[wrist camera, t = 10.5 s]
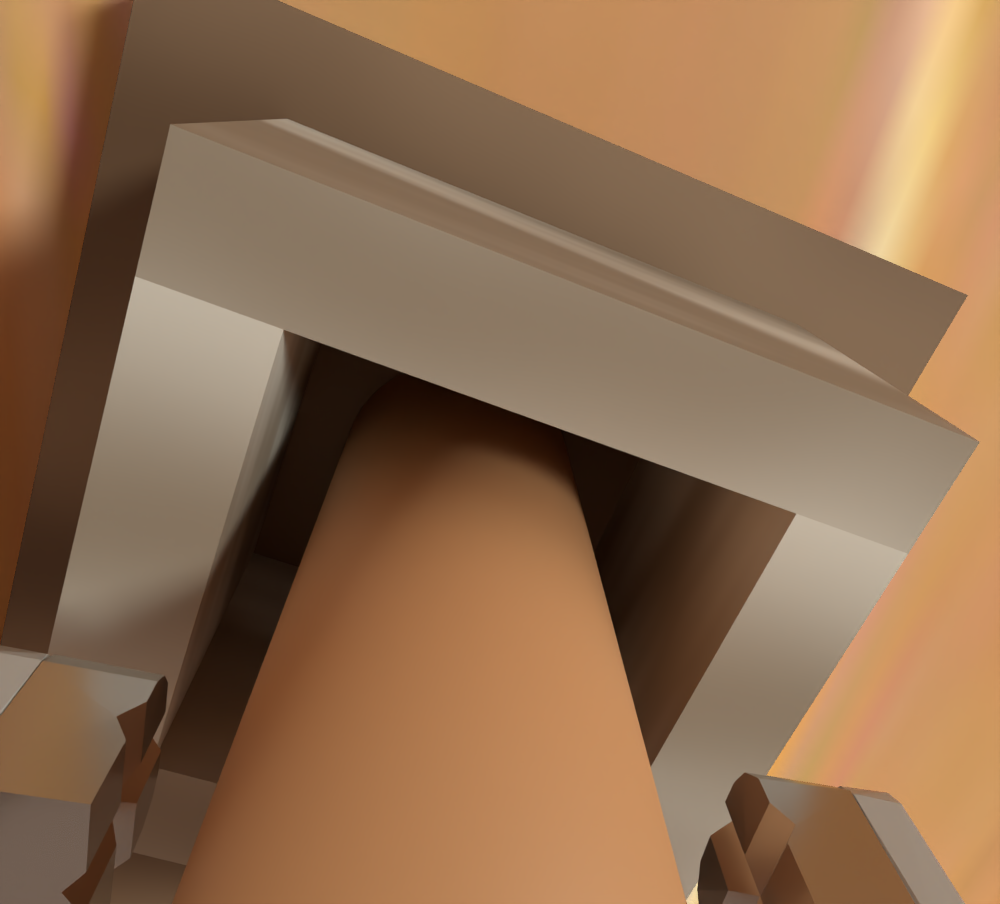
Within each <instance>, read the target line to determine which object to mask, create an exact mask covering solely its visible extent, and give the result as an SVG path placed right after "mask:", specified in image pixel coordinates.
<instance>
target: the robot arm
mask: <svg viewBox="0 0 1000 904" xmlns="http://www.w3.org/2000/svg"><path fill="white" fill-rule="evenodd" d="M167 689H168V682H167V679H166V677H165V675H160V674H155V673H149V672H144V671H139V670H134V669H128V668H123V667H118V666H113V665H107V664H102V663H97V662H91V661H86V660H81V659H76V658H70V657H65V656H60V655H52V656H51V655H48V654H45V653H39V652H34V651H29V650H23V649H18V648H12V647H7V646H1V645H0V904H110V901H111V892H112V883H113V874H114V869H115V868H116V867H118V866H119V865H121V864H122V863H124V862H125V861H127V860H128V859H130V857H131V855H132V853H133V850H134V848H135V846H136V843H137V841H138V839H139V836H140V834H141V832H142V829H143V826H144V823H145V820H146V817H147V814H148V811H149V808H150V804H151V801H152V798H153V794H154V790H155V785H156V780H157V776H158V771H159V763H160V755H161V749H160V748H159V746H158V745H157V744H156V742H155V741H154V739H153V737H154V735H155V733H156V731H157V729H158V727H159V725H160V722H161V720H162V718H163V716H164V714H165V712H166V701H167ZM725 803H726V806H727V809H728V811H729V814H730V817H731V820H732V821H731V822H730V823H728V824H727V825H725V826H724V827H722V828H721V829H719V830H718V831H716V832H715V833H713V834H712V835H710V837H709V840H708V843H707V845H706V848H705V850H704V853H703V856H702V858H701V861H700V869H699V879H698V889H697V891H698V900H699V904H965V903H964V902H963V900H962V898H961V897H960V895H959V894H958V892H957V891H956V889H955V888H954V886H953V884H952V883H951V881H950V880H949V878H948V877H947V875H946V873H945V872H944V870H943V869H942V867H941V866H940V864H939V862H938V861H937V859H936V858H935V856H934V855H933V853H932V851H931V850H930V848H929V847H928V845H927V844H926V842H925V840H924V839H923V837H922V836H921V834H920V833H919V831H918V829H917V828H916V826H915V825H914V823H913V822H912V820H911V818H910V817H909V815H908V814H907V812H906V811H905V809H904V807H903V806H902V804H901V803H900V802H898V801H897V800H896V799H895V798H893V797H892V796H891V795H889V794H888V793H885V792H878V791H871V790H864V789H857V788H850V787H842V786H840V787H833V786H828V785H821V784H815V783H809V782H803V781H796V780H790V779H784V778H778V777H771V776H765V775H759V774H753V773H746V772H744V773H743V774H742V775H741V776H740V777H739V778H738V779H737V780H736V781H735V782H734V783H733V786H732V788H731V790H730V792H729V794H728V797H727V799H726V801H725Z"/></svg>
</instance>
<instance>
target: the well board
mask: <svg viewBox="0 0 1000 904" xmlns="http://www.w3.org/2000/svg"><path fill="white" fill-rule="evenodd" d="M967 296H968V295H966V294H963V293H961V292H959V291H956V290H954V289H952V288H949V287H947V286H945V285H942V284H940V283H938V282H935V281H933V280H931V279H928V278H926V277H924V276H921V275H919V274H917V273H914V272H912V271H910V270H907V269H905V268H903V267H900V266H898V265H896V264H893V263H891V262H889V261H886V260H884V259H882V258H879V257H877V256H875V255H872V254H870V253H868V252H865V251H863V250H861V249H858V248H856V247H853V246H851V245H849V244H846V243H844V242H842V241H839V240H837V239H835V238H832V237H830V236H828V235H825V234H823V233H821V232H818V231H816V230H814V229H811V228H809V227H807V226H804V225H802V224H800V223H797V222H795V221H793V220H790V219H788V218H786V217H783V216H781V215H779V214H776V213H774V212H772V211H769V210H767V209H765V208H762V207H760V206H758V205H755V204H753V203H751V202H748V201H746V200H744V199H741V198H739V197H736V196H734V195H732V194H729V193H727V192H725V191H722V190H720V189H718V188H715V187H713V186H711V185H708V184H706V183H704V182H701V181H699V180H697V179H694V178H692V177H690V176H687V175H685V174H683V173H680V172H678V171H676V170H673V169H671V168H669V167H666V166H664V165H662V164H659V163H657V162H655V161H652V160H650V159H648V158H645V157H643V156H641V155H638V154H636V153H634V152H631V151H629V150H627V149H624V148H622V147H619V146H617V145H615V144H612V143H610V142H608V141H605V140H603V139H601V138H598V137H596V136H594V135H591V134H589V133H587V132H584V131H582V130H580V129H577V128H575V127H573V126H570V125H568V124H566V123H563V122H561V121H559V120H556V119H554V118H552V117H549V116H547V115H545V114H542V113H540V112H538V111H535V110H533V109H531V108H528V107H526V106H524V105H521V104H519V103H517V102H514V101H512V100H510V99H507V98H505V97H502V96H500V95H498V94H495V93H493V92H491V91H488V90H486V89H484V88H481V87H479V86H477V85H474V84H472V83H470V82H467V81H465V80H463V79H460V78H458V77H456V76H453V75H451V74H449V73H446V72H444V71H442V70H439V69H437V68H435V67H432V66H430V65H428V64H425V63H423V62H421V61H418V60H416V59H414V58H411V57H409V56H407V55H404V54H402V53H400V52H397V51H395V50H393V49H390V48H388V47H385V46H383V45H381V44H378V43H376V42H374V41H371V40H369V39H367V38H364V37H362V36H360V35H357V34H355V33H353V32H350V31H348V30H346V29H343V28H341V27H339V26H336V25H334V24H332V23H329V22H327V21H325V20H322V19H320V18H318V17H315V16H313V15H311V14H308V13H306V12H304V11H301V10H299V9H297V8H294V7H292V6H290V5H287V4H285V3H283V2H280V1H278V0H134V1H133V6H132V11H131V16H130V20H129V25H128V30H127V35H126V40H125V45H124V49H123V54H122V59H121V64H120V69H119V74H118V78H117V83H116V88H115V93H114V98H113V103H112V107H111V112H110V117H109V122H108V127H107V132H106V136H105V141H104V146H103V151H102V156H101V161H100V165H99V170H98V175H97V180H96V185H95V190H94V194H93V199H92V204H91V209H90V214H89V219H88V223H87V228H86V233H85V238H84V243H83V248H82V252H81V257H80V262H79V267H78V272H77V277H76V281H75V286H74V291H73V296H72V301H71V306H70V310H69V315H68V320H67V325H66V330H65V335H64V339H63V344H62V349H61V354H60V359H59V364H58V368H57V373H56V378H55V383H54V388H53V393H52V397H51V402H50V407H49V412H48V417H47V422H46V426H45V431H44V436H43V441H42V446H41V451H40V455H39V460H38V465H37V470H36V475H35V480H34V484H33V489H32V494H31V499H30V504H29V509H28V513H27V518H26V523H25V528H24V533H23V538H22V542H21V547H20V552H19V557H18V562H17V567H16V571H15V576H14V581H13V586H12V591H11V596H10V600H9V605H8V610H7V615H6V620H5V625H4V629H3V634H2V639H1V644H0V645H1V646H7V647H12V648H18V649H23V650H29V651H34V652H39V653H45V654H48V655H51V656H52V655H60V656H65V657H70V658H76V659H81V660H86V661H91V662H97V663H102V664H107V665H113V666H118V667H123V668H128V669H134V670H139V671H144V672H149V673H155V674H160V675H165V677H166V679H167V682H168V689H167V701H166V712H165V714H164V716H163V718H162V720H161V722H160V725H159V727H158V729H157V731H156V733H155V735H154V737H153V739H154V741H155V742H156V744H157V745H158V746H159V748H160V749H161V755H160V763H159V771H158V776H157V780H156V785H155V790H154V794H153V798H152V801H151V804H150V808H149V811H148V814H147V817H146V820H145V823H144V826H143V829H142V832H141V834H140V836H139V839H138V841H137V843H136V846H135V848H134V850H133V853H132V855H131V857H130V859H128V860H127V861H125V862H124V863H122V864H121V865H119V866H118V867H116V868H115V869H114V874H113V883H112V892H111V901H110V904H172V902H173V899H174V897H175V894H176V891H177V889H178V886H179V883H180V881H181V878H182V875H183V873H184V870H185V868H186V865H187V862H188V860H189V857H190V854H191V852H192V849H193V846H194V844H195V841H196V838H197V836H198V833H199V830H200V828H201V825H202V822H203V820H204V817H205V815H206V812H207V809H208V807H209V804H210V801H211V799H212V796H213V793H214V791H215V788H216V785H217V783H218V780H219V777H220V775H221V772H222V769H223V767H224V764H225V761H226V759H227V756H228V754H229V751H230V748H231V746H232V743H233V740H234V738H235V735H236V732H237V730H238V727H239V724H240V722H241V719H242V716H243V714H244V711H245V708H246V706H247V703H248V700H249V698H250V695H251V693H252V690H253V687H254V685H255V682H256V679H257V677H258V674H259V671H260V669H261V666H262V663H263V661H264V658H265V655H266V653H267V650H268V647H269V645H270V642H271V640H272V637H273V634H274V632H275V629H276V626H277V624H278V621H279V618H280V616H281V613H282V610H283V608H284V605H285V602H286V600H287V597H288V594H289V592H290V589H291V586H292V584H293V581H294V579H295V576H296V573H297V571H298V568H299V565H300V563H301V560H302V557H303V555H304V552H305V549H306V547H307V544H308V541H309V539H310V536H311V533H312V531H313V528H314V525H315V523H316V520H317V518H318V515H319V512H320V510H321V507H322V504H323V502H324V499H325V496H326V494H327V491H328V488H329V486H330V483H331V480H332V478H333V475H334V472H335V470H336V467H337V465H338V462H339V459H340V457H341V454H342V451H343V449H344V446H345V443H346V441H347V438H348V435H349V433H350V430H351V428H352V426H353V423H354V421H355V419H356V417H357V415H358V414H359V412H360V410H361V409H362V407H363V406H364V405H365V403H366V402H367V401H368V400H369V399H370V397H371V396H372V395H373V394H374V393H375V392H377V391H378V390H379V389H380V388H381V387H382V386H383V385H385V384H386V383H388V382H389V381H390V380H392V379H393V378H395V377H397V376H399V375H401V374H403V373H406V374H409V375H411V376H414V377H417V378H420V379H423V380H425V381H428V382H431V383H434V384H437V385H439V386H442V387H445V388H448V389H450V390H453V391H456V392H459V393H462V394H464V395H467V396H470V397H473V398H476V399H478V400H481V401H484V402H487V403H489V404H492V405H495V406H498V407H501V408H503V409H506V410H509V411H512V412H515V413H517V414H520V415H523V416H526V417H528V418H531V419H534V420H537V421H540V422H542V423H545V424H548V425H551V426H554V427H556V428H559V429H560V430H561V433H562V435H563V438H564V442H565V446H566V450H567V453H568V457H569V461H570V465H571V468H572V472H573V476H574V480H575V484H576V487H577V491H578V495H579V499H580V502H581V506H582V510H583V514H584V518H585V521H586V525H587V529H588V533H589V536H590V540H591V544H592V548H593V552H594V555H595V559H596V563H597V567H598V570H599V574H600V578H601V582H602V586H603V589H604V593H605V597H606V601H607V604H608V608H609V612H610V616H611V620H612V623H613V627H614V631H615V635H616V638H617V642H618V646H619V650H620V654H621V657H622V661H623V665H624V669H625V672H626V676H627V680H628V684H629V687H630V691H631V695H632V699H633V703H634V706H635V710H636V714H637V718H638V721H639V725H640V729H641V733H642V737H643V740H644V744H645V748H646V752H647V755H648V759H649V763H650V767H651V771H652V774H653V778H654V782H655V786H656V789H657V793H658V797H659V801H660V805H661V808H662V812H663V816H664V820H665V823H666V827H667V831H668V835H669V839H670V842H671V846H672V850H673V854H674V857H675V861H676V865H677V869H678V873H679V876H680V880H681V884H682V888H683V891H684V895H685V899H687V898H688V896H689V895H690V893H691V891H692V890H693V888H694V887H695V885H696V884H697V882H698V879H699V869H700V861H701V858H702V856H703V853H704V850H705V848H706V845H707V843H708V840H709V837H710V835H712V834H713V833H715V832H716V831H718V830H719V829H721V828H722V827H724V826H725V825H727V824H728V823H730V822H731V821H732V820H731V817H730V814H729V811H728V809H727V806H726V803H725V801H726V799H727V797H728V794H729V792H730V790H731V788H732V786H733V783H734V782H735V781H736V780H737V779H738V778H739V777H740V776H741V775H742V774H743V773H744V772H746V773H753V774H759V775H765V776H766V775H767V773H768V771H769V770H770V768H771V767H772V765H773V764H774V762H775V760H776V759H777V757H778V756H779V754H780V753H781V751H782V750H783V748H784V746H785V745H786V743H787V742H788V740H789V739H790V737H791V736H792V734H793V732H794V731H795V729H796V728H797V726H798V725H799V723H800V721H801V720H802V718H803V717H804V715H805V714H806V712H807V711H808V709H809V707H810V706H811V704H812V703H813V701H814V700H815V698H816V697H817V695H818V693H819V692H820V690H821V689H822V687H823V686H824V684H825V682H826V681H827V679H828V678H829V676H830V675H831V673H832V672H833V670H834V668H835V667H836V665H837V664H838V662H839V661H840V659H841V658H842V656H843V654H844V653H845V651H846V650H847V648H848V647H849V645H850V643H851V642H852V640H853V639H854V637H855V636H856V634H857V633H858V631H859V629H860V628H861V626H862V625H863V623H864V622H865V620H866V619H867V617H868V615H869V614H870V612H871V611H872V609H873V608H874V606H875V605H876V603H877V601H878V600H879V598H880V597H881V595H882V594H883V592H884V590H885V589H886V587H887V586H888V584H889V583H890V581H891V580H892V578H893V576H894V575H895V573H896V572H897V570H898V569H899V567H900V566H901V564H902V562H903V561H904V559H905V558H906V556H907V555H908V553H909V551H910V550H911V548H912V547H913V545H914V544H915V542H916V541H917V539H918V537H919V536H920V534H921V533H922V531H923V530H924V528H925V527H926V525H927V523H928V522H929V520H930V519H931V517H932V516H933V514H934V512H935V511H936V509H937V508H938V506H939V505H940V503H941V502H942V500H943V498H944V497H945V495H946V494H947V492H948V491H949V489H950V488H951V486H952V484H953V483H954V481H955V480H956V478H957V477H958V475H959V473H960V472H961V470H962V469H963V467H964V466H965V464H966V463H967V461H968V459H969V458H970V456H971V455H972V453H973V452H974V450H975V449H976V447H977V445H978V444H979V441H977V440H976V439H974V438H973V437H971V436H970V435H968V434H966V433H965V432H963V431H962V430H960V429H959V428H957V427H956V426H954V425H952V424H951V423H949V422H948V421H946V420H945V419H943V418H942V417H940V416H939V415H937V414H935V413H934V412H932V411H931V410H929V409H928V408H926V407H925V406H923V405H921V404H920V403H918V402H917V401H915V400H914V399H912V398H911V397H909V396H908V395H909V393H910V391H911V390H912V388H913V386H914V385H915V383H916V381H917V380H918V378H919V376H920V375H921V373H922V371H923V370H924V368H925V366H926V365H927V363H928V361H929V360H930V358H931V356H932V354H933V353H934V351H935V349H936V348H937V346H938V344H939V343H940V341H941V339H942V338H943V336H944V334H945V333H946V331H947V329H948V328H949V326H950V324H951V323H952V321H953V319H954V317H955V316H956V314H957V312H958V311H959V309H960V307H961V306H962V304H963V302H964V301H965V299H966V297H967Z"/></svg>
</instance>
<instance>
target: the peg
mask: <svg viewBox="0 0 1000 904" xmlns="http://www.w3.org/2000/svg"><path fill="white" fill-rule="evenodd" d="M172 904H687V903H686V899H685V895H684V891H683V888H682V884H681V880H680V876H679V873H678V869H677V865H676V861H675V857H674V854H673V850H672V846H671V842H670V839H669V835H668V831H667V827H666V823H665V820H664V816H663V812H662V808H661V805H660V801H659V797H658V793H657V789H656V786H655V782H654V778H653V774H652V771H651V767H650V763H649V759H648V755H647V752H646V748H645V744H644V740H643V737H642V733H641V729H640V725H639V721H638V718H637V714H636V710H635V706H634V703H633V699H632V695H631V691H630V687H629V684H628V680H627V676H626V672H625V669H624V665H623V661H622V657H621V654H620V650H619V646H618V642H617V638H616V635H615V631H614V627H613V623H612V620H611V616H610V612H609V608H608V604H607V601H606V597H605V593H604V589H603V586H602V582H601V578H600V574H599V570H598V567H597V563H596V559H595V555H594V552H593V548H592V544H591V540H590V536H589V533H588V529H587V525H586V521H585V518H584V514H583V510H582V506H581V502H580V499H579V495H578V491H577V487H576V484H575V480H574V476H573V472H572V468H571V465H570V461H569V457H568V453H567V450H566V446H565V442H564V438H563V435H562V433H561V430H560V429H559V428H556V427H554V426H551V425H548V424H545V423H542V422H540V421H537V420H534V419H531V418H528V417H526V416H523V415H520V414H517V413H515V412H512V411H509V410H506V409H503V408H501V407H498V406H495V405H492V404H489V403H487V402H484V401H481V400H478V399H476V398H473V397H470V396H467V395H464V394H462V393H459V392H456V391H453V390H450V389H448V388H445V387H442V386H439V385H437V384H434V383H431V382H428V381H425V380H423V379H420V378H417V377H414V376H411V375H409V374H406V373H403V374H401V375H399V376H397V377H395V378H393V379H392V380H390V381H389V382H388V383H386V384H385V385H383V386H382V387H381V388H380V389H379V390H378V391H377V392H375V393H374V394H373V395H372V396H371V397H370V399H369V400H368V401H367V402H366V403H365V405H364V406H363V407H362V409H361V410H360V412H359V414H358V415H357V417H356V419H355V421H354V423H353V426H352V428H351V430H350V433H349V435H348V438H347V441H346V443H345V446H344V449H343V451H342V454H341V457H340V459H339V462H338V465H337V467H336V470H335V472H334V475H333V478H332V480H331V483H330V486H329V488H328V491H327V494H326V496H325V499H324V502H323V504H322V507H321V510H320V512H319V515H318V518H317V520H316V523H315V525H314V528H313V531H312V533H311V536H310V539H309V541H308V544H307V547H306V549H305V552H304V555H303V557H302V560H301V563H300V565H299V568H298V571H297V573H296V576H295V579H294V581H293V584H292V586H291V589H290V592H289V594H288V597H287V600H286V602H285V605H284V608H283V610H282V613H281V616H280V618H279V621H278V624H277V626H276V629H275V632H274V634H273V637H272V640H271V642H270V645H269V647H268V650H267V653H266V655H265V658H264V661H263V663H262V666H261V669H260V671H259V674H258V677H257V679H256V682H255V685H254V687H253V690H252V693H251V695H250V698H249V700H248V703H247V706H246V708H245V711H244V714H243V716H242V719H241V722H240V724H239V727H238V730H237V732H236V735H235V738H234V740H233V743H232V746H231V748H230V751H229V754H228V756H227V759H226V761H225V764H224V767H223V769H222V772H221V775H220V777H219V780H218V783H217V785H216V788H215V791H214V793H213V796H212V799H211V801H210V804H209V807H208V809H207V812H206V815H205V817H204V820H203V822H202V825H201V828H200V830H199V833H198V836H197V838H196V841H195V844H194V846H193V849H192V852H191V854H190V857H189V860H188V862H187V865H186V868H185V870H184V873H183V875H182V878H181V881H180V883H179V886H178V889H177V891H176V894H175V897H174V899H173V902H172Z"/></svg>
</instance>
